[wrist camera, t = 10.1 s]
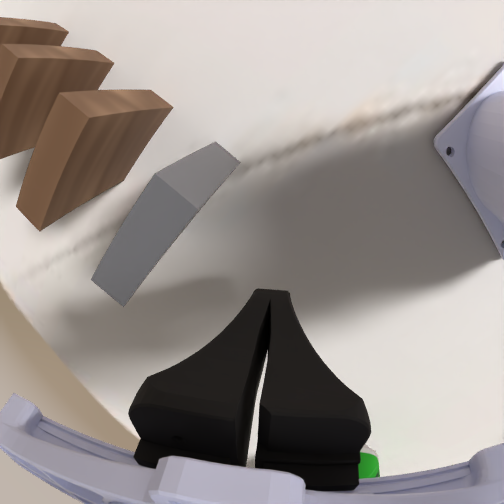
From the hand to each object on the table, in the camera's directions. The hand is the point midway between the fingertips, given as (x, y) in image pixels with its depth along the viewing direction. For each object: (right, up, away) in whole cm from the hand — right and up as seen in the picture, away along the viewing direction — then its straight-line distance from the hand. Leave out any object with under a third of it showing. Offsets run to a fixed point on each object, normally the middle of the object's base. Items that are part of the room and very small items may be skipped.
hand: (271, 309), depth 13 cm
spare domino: (-4, +6, +3) cm, 7 cm away
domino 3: (-10, +11, +1) cm, 15 cm away
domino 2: (-7, +8, +2) cm, 11 cm away
